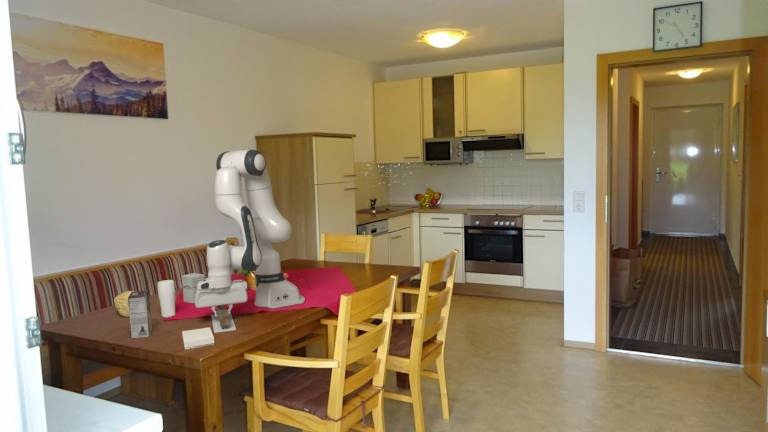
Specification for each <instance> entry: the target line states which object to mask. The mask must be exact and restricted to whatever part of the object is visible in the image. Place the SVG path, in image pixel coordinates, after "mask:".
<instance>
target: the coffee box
mask: <svg viewBox="0 0 768 432" xmlns="http://www.w3.org/2000/svg"><path fill="white" fill-rule="evenodd" d="M128 303H129V314H130V317H129V325H130V332H131V333H130V334H131V339H132V340H133V338H134V339H140V338H147V337H150V335H151V333H152V330H153V326H152V316H151V304H150V303H151V302H150V293H149V290H148V289H145V290H138V291H136V292H131V294H130V295H129V297H128Z"/></svg>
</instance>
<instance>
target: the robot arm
mask: <svg viewBox="0 0 768 432" xmlns="http://www.w3.org/2000/svg"><path fill="white" fill-rule="evenodd" d="M266 162H267V161H266V158H265V156H264V154H263V153H262V152H261V151H260V150H257V149H237V150H232V151H229V150H228V151H224V152H222V153H219V155H218V156H217V158H216V164H215V165H216V172H215V176H214V185H213V186H214V189H213V191H214V192H213V193H214V205H215V208H216V210H217V211H218V212H219V213H220V214H222V215H223V216H224V217H226V218H229V219H231V220H233V221H235V222H236V223H237V224H238V225H239V227H240V228H239V233H240V235H241V238H242V240H243V241H242V242H243V245H242V246H241V245H238V246H237V245H232V244H229V243H228V242H227V241H226V240H224V239H219V240H217V239H216V240H214V241H211V242H210V243H208V244H207V247H206V266H207V269H208V273H207V277H206V278H204V280H201V281H199V282H198V283H197V288H198V289H197V290H196V293H195V303H194V306H195V308H197V309H201V308H208V307H210V308H211V310H212V312H213V313H214V315H215V317H217V316H219V312H218V311H217V309H216V307H217V306H218V305H225V306H226V305H228V309H226V310H227V314H228V315H230V313H231V310H232V309H233V305H234V304H241V303H246V302H247V301H248V293H247V289H248V282H247V281H246V280H245V279H242V278H241V279H233V280H232V272H231V270H234V271H235V270H238V271H240V270H241V271H245V272H246V271H247V272H254V271H255V274H254V284H255V288H256V289H255V298H254V299H255V300H254V304H253V305H255V306H256V307H260V308H261V307H263V308H268V309H277V308H283V307H289V306H294V305H301V304H304V303H305V302H306V298H305V297H304V296H303V295H301V294H300V290H299V288H298V287H297V285H295V284H294V283H292V282H290V281H289V280H288V277H289V274H287V272H284V271H282V269H281V267H282V266H281V256H280V253H279V252H277V250H276V249H275V248H274V247H273V245H272V244H271V243H274V244H275V243H276V244H278V243H283V242H287V241H288V240H290V238H291V236H292V232H293V228H292V225H291V222H290V221H289V220H288V219H286V218H285V217H284V216H283V215H282V214H281V212H280V211H279V209H278V208H277V205H276V203H275V202H276V201H275V199H274V193H273V189H272V183H271V178H270V175H269V172H268V170H267V169H268V168H267V167H266V166H267V165H266V164H267V163H266ZM243 178H244V179H243ZM242 179H243V180H244V187H245V193H246V200H247V204H248V206H247V205H246V203H245V200H244V195H243V194H244V193H243V186H242V185H243V184H242ZM251 210H252V211H253V212H254V213H255V214H256V215H257V216H258V217H257V216H256V217H253V214H252V211H251Z"/></svg>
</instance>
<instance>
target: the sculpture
mask: <svg viewBox="0 0 768 432" xmlns="http://www.w3.org/2000/svg"><path fill="white" fill-rule="evenodd" d="M131 292H137V291H136V290H133V291H132V290H125V291H124V292H122V293H119V294H117V295H116V296H115V298H114V299H113V303H114V307H115V308H116V310H117V311H118V312H119V315H121V317H124V318H130V314H129V303H128V297H129V295H130V294H131Z"/></svg>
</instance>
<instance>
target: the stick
mask: <svg viewBox="0 0 768 432" xmlns="http://www.w3.org/2000/svg"><path fill="white" fill-rule="evenodd" d="M227 310H228V309H227V307H226V305H218V306H216V311H218V312H219V316H218V317H219V322H220V326H221V327H223V326H229V322H228V314H227Z"/></svg>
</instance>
